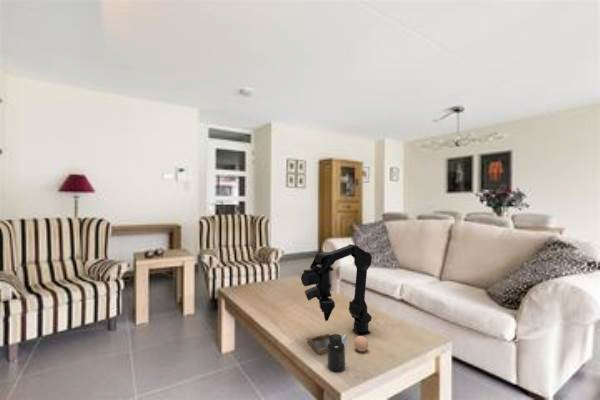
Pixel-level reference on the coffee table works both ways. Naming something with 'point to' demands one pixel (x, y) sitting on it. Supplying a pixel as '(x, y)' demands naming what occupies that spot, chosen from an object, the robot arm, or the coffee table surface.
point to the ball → (361, 343)
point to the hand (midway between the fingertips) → (324, 316)
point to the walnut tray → (319, 343)
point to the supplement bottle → (336, 353)
